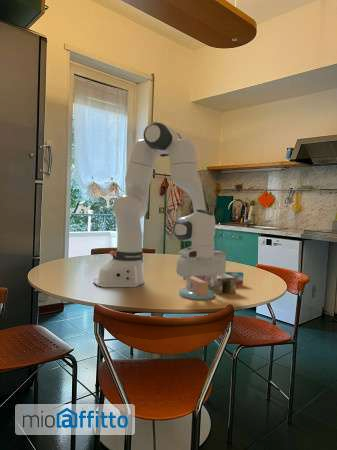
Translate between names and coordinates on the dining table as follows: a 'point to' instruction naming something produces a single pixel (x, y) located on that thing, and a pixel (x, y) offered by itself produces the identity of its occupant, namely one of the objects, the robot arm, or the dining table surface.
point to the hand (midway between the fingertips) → (200, 286)
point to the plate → (191, 295)
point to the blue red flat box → (239, 277)
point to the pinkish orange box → (198, 286)
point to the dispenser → (222, 283)
